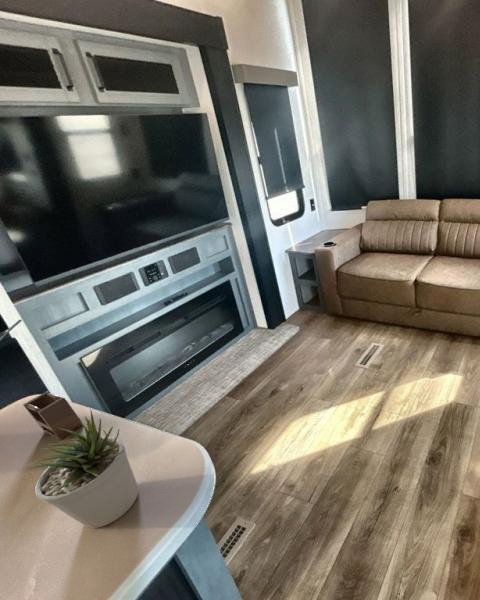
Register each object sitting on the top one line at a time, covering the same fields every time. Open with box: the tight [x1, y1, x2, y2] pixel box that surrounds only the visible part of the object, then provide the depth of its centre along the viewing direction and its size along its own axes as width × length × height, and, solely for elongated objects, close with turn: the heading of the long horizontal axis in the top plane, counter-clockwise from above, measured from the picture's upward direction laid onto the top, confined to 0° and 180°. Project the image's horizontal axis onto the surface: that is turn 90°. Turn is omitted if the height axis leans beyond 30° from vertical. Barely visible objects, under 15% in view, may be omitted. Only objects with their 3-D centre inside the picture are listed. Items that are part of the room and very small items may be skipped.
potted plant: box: [28, 409, 139, 529], centre depth 64 cm, size 13×14×20 cm
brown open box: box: [22, 390, 83, 441], centre depth 87 cm, size 8×5×9 cm, turn 65°
